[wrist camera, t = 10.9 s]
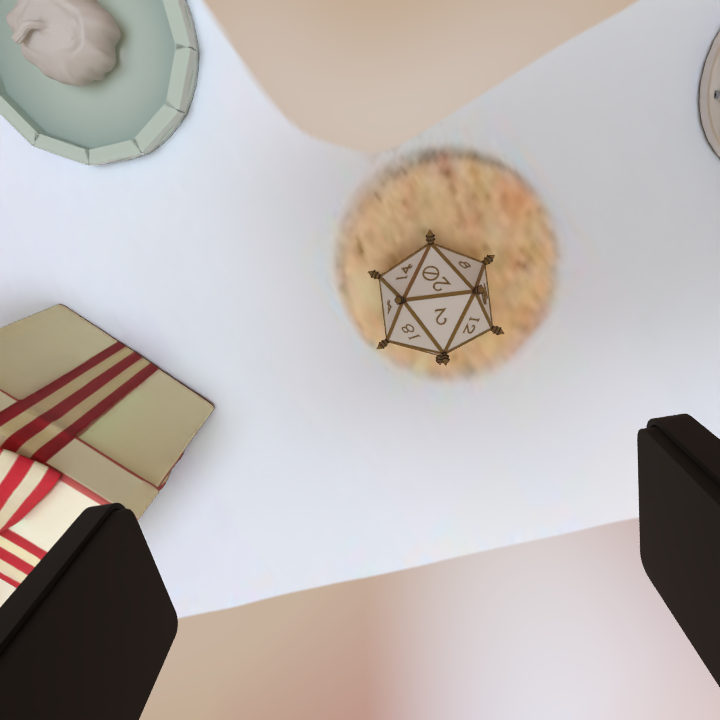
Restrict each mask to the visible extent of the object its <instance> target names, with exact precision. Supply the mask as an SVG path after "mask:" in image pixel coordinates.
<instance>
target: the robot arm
mask: <svg viewBox="0 0 720 720" xmlns="http://www.w3.org/2000/svg"><path fill="white" fill-rule="evenodd" d="M714 92H716V97H715V99H714ZM699 104H700V112H701V119H702V124H703V127H704V130H705V133H706V136H707V139H708V141H709V143H710V144H711V146H712V147H713V149H714V151H715V152H716V154H717V155H718V156H719V157H720V32H719V33H718V35H717V37H716V38H715V40H714V43H713V45H712V47H711V50H710V52H709V55H708V57H707V60H706V63H705V67H704V71H703V75H702V80H701V87H700V103H699ZM637 443H638V483H639V522H640V554H641V560H642V563H643V566H644V569H645V571H646V573H647V575H648V577H649V579H650V580H651V582H652V583H653V585H654V586H655V588H656V590H657V591H658V593H659V594H660V596H661V597H662V599H663V600H664V602H665V603H666V605H667V607H668V608H669V610H670V611H671V613H672V614H673V615H674V617H675V619H676V620H677V622H678V623H679V625H680V626H681V628H682V630H683V631H684V633H685V634H686V636H687V637H688V639H689V640H690V642H691V644H692V645H693V647H694V648H695V650H696V651H697V653H698V655H699V656H700V658H701V659H702V660H703V662H704V664H705V665H706V667H707V668H708V670H709V671H710V673H711V675H712V676H713V678H714V679H715V681H716V682H717V684H718V685H719V687H720V439H719V438H717V437H716V436H715V435H714V434H712V433H711V432H710V431H709V430H707V429H706V428H705V427H704V426H703V425H701V424H700V423H699V422H698V421H696V420H695V419H694V418H693V417H692V416H690V415H688V414H679V415H673V416H666V417H660V418H654V419H650V420H649V421H648V423H647V428H644V429H640V430H639V431H638V437H637ZM177 626H178V620H177V614H176V611H175V609H174V607H173V604H172V602H171V600H170V597H169V595H168V592H167V590H166V588H165V585H164V583H163V581H162V578H161V576H160V573H159V571H158V569H157V566H156V564H155V561H154V559H153V557H152V554H151V552H150V550H149V547H148V545H147V542H146V540H145V538H144V535H143V533H142V531H141V528H140V526H139V523H138V521H137V519H136V516H135V514H134V513H133V511H132V510H131V509H126V508H125V506H123V505H122V504H121V503H111V504H104V505H98V506H91V507H88V508H86V509H85V510H84V511H83V512H82V513H81V514H80V515H79V516H78V517H77V519H76V520H75V521H74V522H73V523H72V524H71V526H70V527H69V528H68V529H67V530H66V531H65V533H64V534H63V535H62V536H61V537H60V538H59V540H58V541H57V542H56V543H55V544H54V545H53V547H52V548H51V549H50V550H49V551H48V552H47V553H46V555H45V556H44V557H43V558H42V559H41V560H40V562H39V563H38V564H37V565H36V566H35V567H34V569H33V570H32V571H31V572H30V573H29V574H28V576H27V577H26V578H25V579H24V580H23V581H22V582H21V584H20V585H19V586H18V587H17V588H16V589H15V591H14V592H13V593H12V594H11V595H10V596H9V598H8V599H7V600H6V601H5V602H4V603H3V605H2V606H1V607H0V720H139V718H140V716H141V713H142V711H143V709H144V707H145V704H146V702H147V700H148V697H149V695H150V693H151V690H152V688H153V686H154V684H155V682H156V679H157V677H158V675H159V672H160V670H161V668H162V666H163V663H164V661H165V659H166V656H167V654H168V652H169V650H170V647H171V645H172V643H173V640H174V638H175V635H176V633H177Z"/></svg>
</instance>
